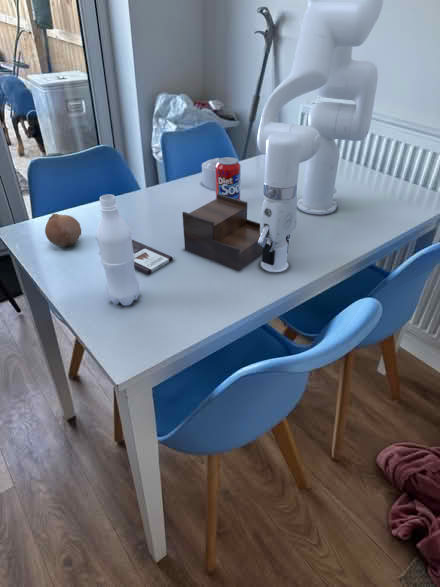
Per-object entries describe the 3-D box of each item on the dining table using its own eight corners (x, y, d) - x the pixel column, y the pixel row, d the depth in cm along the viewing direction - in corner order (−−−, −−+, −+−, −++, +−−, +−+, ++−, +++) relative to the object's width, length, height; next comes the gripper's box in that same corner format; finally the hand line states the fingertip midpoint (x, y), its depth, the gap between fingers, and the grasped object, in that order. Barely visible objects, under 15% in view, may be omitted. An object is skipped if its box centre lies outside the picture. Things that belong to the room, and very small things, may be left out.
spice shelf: (218, 229, 126) (218, 193, 119) (270, 247, 117) (272, 209, 110) (184, 250, 116) (182, 212, 110) (238, 271, 107) (238, 231, 101)
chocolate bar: (126, 237, 120) (172, 256, 111) (127, 240, 121) (172, 260, 112) (101, 249, 115) (147, 271, 105) (101, 252, 115) (147, 274, 106)
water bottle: (111, 291, 101) (91, 190, 86) (141, 289, 101) (127, 189, 87) (107, 309, 95) (85, 205, 80) (139, 307, 95) (123, 203, 81)
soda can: (227, 198, 144) (227, 154, 136) (244, 205, 140) (245, 160, 131) (211, 205, 140) (210, 160, 131) (228, 212, 135) (228, 166, 127)
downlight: (289, 274, 106) (293, 238, 100) (261, 274, 106) (263, 238, 100) (286, 257, 112) (289, 223, 106) (259, 257, 112) (261, 223, 107)
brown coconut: (58, 251, 122) (39, 219, 119) (88, 237, 124) (70, 205, 121) (54, 256, 114) (35, 222, 110) (87, 241, 115) (68, 206, 112)
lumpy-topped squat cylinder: (220, 176, 161) (220, 153, 156) (243, 186, 153) (243, 162, 148) (198, 183, 156) (197, 159, 151) (220, 193, 148) (220, 169, 143)
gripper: (274, 206, 90) (269, 277, 100) (312, 182, 101) (304, 248, 111) (245, 198, 94) (243, 267, 104) (285, 175, 105) (279, 240, 115)
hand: (275, 257), depth 108 cm, fingers closed on downlight, 5 cm apart
